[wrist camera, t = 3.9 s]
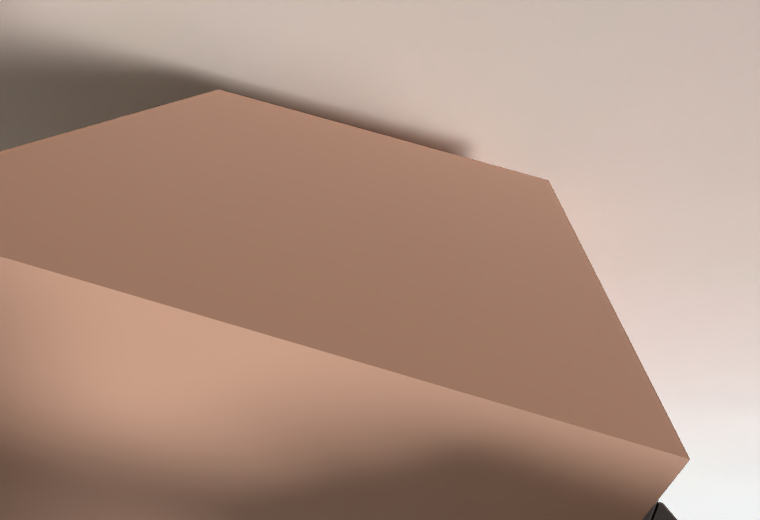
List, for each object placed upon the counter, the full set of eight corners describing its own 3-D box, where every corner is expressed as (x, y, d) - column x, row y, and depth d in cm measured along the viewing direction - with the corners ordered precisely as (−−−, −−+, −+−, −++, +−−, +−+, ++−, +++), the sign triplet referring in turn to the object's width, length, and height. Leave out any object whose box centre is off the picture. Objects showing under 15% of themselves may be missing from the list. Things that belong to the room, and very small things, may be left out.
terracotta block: (548, 180, 8) (691, 459, 3) (446, 423, 11) (428, 790, 6) (218, 89, 9) (-183, 203, 3) (200, 349, 11) (-34, 638, 6)
